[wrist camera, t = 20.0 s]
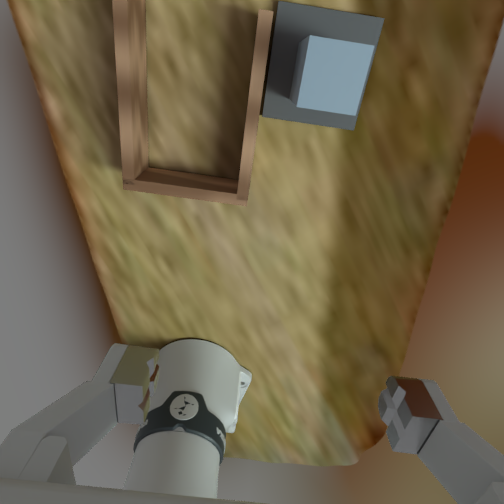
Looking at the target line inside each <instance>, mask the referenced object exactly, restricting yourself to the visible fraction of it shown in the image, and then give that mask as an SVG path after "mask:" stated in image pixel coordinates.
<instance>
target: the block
mask: <svg viewBox="0 0 504 504" xmlns="http://www.w3.org/2000/svg"><path fill="white" fill-rule="evenodd" d="M373 50H374V46H373V45H367V44H361V43H355V42H349V41H342V40H336V39H330V38H324V37H318V36H312V35H310V36H308V37H307V38H305V39H304V40H302V41H301V42H299V46H298V51H297V57H296V63H295V69H294V74H293V80H292V86H291V92H290V97H289V99H290V100H291V102H292V103H293V104H294V105H295V106H296V107H300V108H307V109H313V110H320V111H327V112H333V113H340V114H347V115H353V116H356V113H357V109H358V105H359V102H360V98H361V94H362V90H363V87H364V83H365V79H366V76H367V72H368V68H369V65H370V61H371V57H372V54H373Z"/></svg>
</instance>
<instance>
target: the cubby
mask: <svg viewBox="0 0 504 504" xmlns="http://www.w3.org/2000/svg"><path fill="white" fill-rule="evenodd" d="M112 8H113V25H114V41H115V58H116V75H117V92H118V109H119V126H120V142H121V159H122V176H123V189H125V190H132V191H139V192H147V193H154V194H161V195H168V196H176V197H183V198H190V199H198V200H205V201H212V202H220V203H227V204H234V205H242V206H247V201H248V194H249V186H250V179H251V172H252V164H253V157H254V150H255V143H256V135H257V128H258V121H259V113H260V106H261V99H262V92H263V84H264V77H265V70H266V62H267V55H268V48H269V41H270V33H271V26H272V19H273V11H268V10H262V9H259V14H258V22H257V30H256V39H255V47H254V56H253V64H252V72H251V81H250V89H249V98H248V106H247V114H246V123H245V131H244V139H243V148H242V156H241V165H240V173H239V180H235V179H228V178H221V177H214V176H207V175H200V174H193V173H186V172H179V171H171V170H164V169H157V168H150V167H149V164H148V112H147V61H146V9H145V0H112Z"/></svg>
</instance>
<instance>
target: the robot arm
mask: <svg viewBox="0 0 504 504" xmlns="http://www.w3.org/2000/svg"><path fill="white" fill-rule="evenodd" d="M251 379H252V374H251V373H250V372H249V371H248V370H247V369H245V368H243V367H242V366H240V365H239V364H238V363H237V361H236V360H235V359H234V357H233V356H232V355H231V354H230V353H229V352H228V351H227V350H225V349H224V348H222V347H220V346H218V345H216V344H214V343H211V342H208V341H204V340H196V339H186V340H179V341H176V342H173V343H170V344H168V345H166V346H165V347H163V348H162V349H161V350H160V351H159V349H155V348H148V347H141V346H134V345H125V344H118V343H114V344H113V345H112V346H111V347H110V349H109V351H108V353H107V355H106V356H105V358H104V360H103V362H102V363H101V365H100V367H99V369H98V371H97V372H96V374H95V376H94V378H93V379H92V381H86V382H85V383H83V384H81V385H80V386H78V387H77V388H75V389H74V390H72V391H71V392H69V393H68V394H66V395H65V396H63V397H61V398H60V399H58V400H57V401H55V402H54V403H52V404H51V405H49V406H48V407H46V408H45V409H43V410H41V411H40V412H38V413H37V414H35V415H34V416H32V417H31V418H29V419H28V420H26V421H24V422H23V423H21V424H20V425H18V426H17V427H16V428H14V429H12V430H11V431H10V433H9V434H8V436H7V437H6V438H5V440H4V441H3V443H2V444H1V445H0V504H265V503H254V502H245V501H235V500H224V499H217V485H218V472H219V466H220V464H221V463H222V460H223V455H224V452H225V445H226V441H225V438H226V432H229V433H234V431H235V427H236V423H237V419H238V406H239V404H240V402H241V400H242V398H243V396H244V394H245V392H246V390H247V388H248V386H249V384H250V382H251ZM386 385H387V389H385V390H383V391H382V392H381V394H380V396H379V402H378V408H379V413H380V416H381V419H382V421H383V422H384V423H385V424H386V425H387V426H388V428H387V431H386V433H387V436H388V439H389V442H390V444H391V447H392V450H393V451H396V452H404V453H411V454H418V457H419V458H420V459H421V460H422V462H423V463H424V464H425V465H426V466H427V467H428V469H429V470H430V471H431V472H432V473H433V475H434V476H435V477H436V478H437V479H438V481H439V482H440V483H441V484H442V485H443V486H444V488H445V489H446V490H447V491H448V492H449V494H450V495H451V496H452V497H453V498H454V500H455V501H456V502H457V503H458V504H504V455H502V454H501V453H500V452H499V451H498V450H496V449H495V448H494V447H493V446H492V445H490V444H489V443H488V442H487V441H485V440H484V439H483V438H482V437H481V436H479V435H478V434H477V433H476V432H474V431H473V430H472V429H471V428H470V427H468V426H467V425H466V424H465V423H460V422H459V420H458V419H457V417H456V415H455V414H454V412H453V410H452V408H451V407H450V405H449V403H448V402H447V400H446V398H445V396H444V395H443V393H442V391H441V390H440V388H439V386H438V385H437V383H436V382H435V381H433V380H425V379H417V378H407V377H398V376H390V377H389V378H388V379H387V381H386ZM117 422H118V423H130V424H140V427H139V428H138V431H137V434H136V437H135V443H134V456H133V460H132V463H131V466H130V469H129V472H128V475H127V478H126V481H125V484H124V487H123V489H112V488H102V487H92V486H82V485H76V481H75V477H74V472H73V466H74V465H75V464H76V463H77V462H78V461H79V460H80V459H81V458H82V457H83V456H84V455H85V454H86V453H87V452H89V450H91V449H92V447H94V446H95V445H96V444H97V443H98V442H99V441H100V440H101V439H102V438H103V437H104V436H105V435H106V434H107V433H108V432H109V431H111V429H113V428H114V426H116V425H117Z"/></svg>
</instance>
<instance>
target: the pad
mask: <svg viewBox="0 0 504 504" xmlns="http://www.w3.org/2000/svg"><path fill="white" fill-rule="evenodd" d="M383 22H384V18H379V17H373V16H367V15H361V14H355V13H349V12H343V11H337V10H331V9H325V8H319V7H313V6H307V5H301V4H295V3H289V2H283V1H278V8H277V15H276V22H275V29H274V36H273V43H272V51H271V58H270V65H269V72H268V79H267V86H266V93H265V100H264V107H263V114H262V117H268V118H275V119H281V120H288V121H295V122H301V123H308V124H315V125H321V126H328V127H335V128H341V129H348V130H354V127H355V124H356V120H357V116H358V113H359V109H360V105H361V102H362V98H363V95H364V91H365V87H366V84H367V80H368V76H369V73H370V69H371V66H372V62H373V58H374V55H375V51H376V47H377V44H378V40H379V36H380V33H381V29H382V26H383ZM310 35H312V36H318V37H324V38H330V39H336V40H342V41H349V42H355V43H361V44H367V45H373V46H374V50H373V54H372V57H371V61H370V65H369V68H368V72H367V76H366V79H365V83H364V87H363V90H362V94H361V98H360V102H359V105H358V109H357V113H356V116H353V115H347V114H340V113H333V112H327V111H320V110H313V109H307V108H300V107H296V106H295V105H294V104H293V103H292V102H291V100H290V99H289V97H290V92H291V86H292V80H293V74H294V69H295V63H296V57H297V51H298V46H299V42H301V41H302V40H304V39H305V38H307V37H308V36H310Z"/></svg>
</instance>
